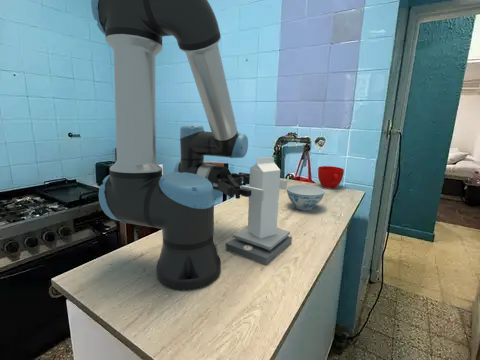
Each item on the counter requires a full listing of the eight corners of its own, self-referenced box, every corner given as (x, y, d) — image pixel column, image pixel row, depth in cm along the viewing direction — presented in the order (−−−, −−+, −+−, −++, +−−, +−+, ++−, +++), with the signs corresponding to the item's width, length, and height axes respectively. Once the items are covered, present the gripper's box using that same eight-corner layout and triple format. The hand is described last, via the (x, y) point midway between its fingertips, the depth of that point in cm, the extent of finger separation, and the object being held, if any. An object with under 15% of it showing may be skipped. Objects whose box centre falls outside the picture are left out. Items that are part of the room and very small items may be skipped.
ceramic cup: (321, 192, 133) (323, 172, 131) (314, 183, 150) (315, 165, 147) (348, 192, 133) (350, 173, 131) (337, 184, 149) (339, 166, 147)
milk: (276, 234, 76) (282, 158, 71) (259, 239, 73) (264, 159, 68) (263, 227, 81) (267, 155, 76) (246, 231, 78) (250, 156, 73)
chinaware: (284, 211, 105) (285, 192, 103) (286, 200, 119) (288, 183, 118) (323, 215, 102) (325, 196, 100) (321, 203, 116) (323, 186, 114)
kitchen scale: (266, 265, 68) (266, 251, 67) (225, 249, 75) (226, 237, 74) (291, 243, 80) (292, 231, 79) (254, 231, 87) (255, 220, 86)
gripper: (237, 181, 94) (293, 192, 82) (186, 198, 75) (250, 216, 63) (237, 160, 93) (295, 169, 81) (185, 171, 73) (251, 185, 61)
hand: (275, 189), depth 72 cm, fingers open, 12 cm apart
